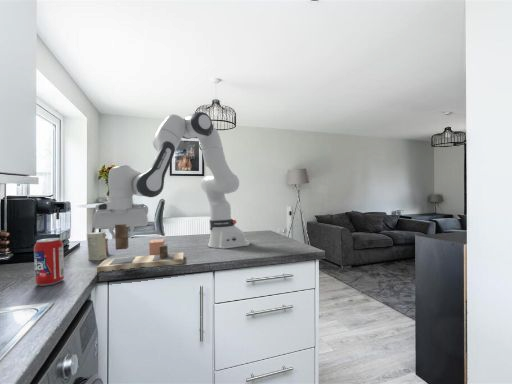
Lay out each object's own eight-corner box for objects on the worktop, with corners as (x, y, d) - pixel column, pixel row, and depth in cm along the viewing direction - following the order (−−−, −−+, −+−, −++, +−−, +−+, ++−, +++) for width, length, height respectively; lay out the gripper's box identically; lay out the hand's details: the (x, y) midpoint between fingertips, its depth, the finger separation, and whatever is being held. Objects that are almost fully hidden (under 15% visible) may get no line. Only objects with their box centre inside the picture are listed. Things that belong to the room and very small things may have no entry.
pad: (135, 257, 115) (135, 256, 115) (131, 262, 106) (131, 262, 106) (115, 259, 113) (115, 258, 113) (109, 264, 104) (109, 264, 104)
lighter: (90, 256, 127) (89, 236, 126) (89, 255, 129) (88, 235, 129) (109, 253, 132) (108, 233, 132) (107, 252, 134) (107, 233, 134)
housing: (164, 253, 130) (164, 238, 130) (163, 256, 122) (163, 241, 122) (151, 254, 128) (151, 239, 128) (149, 258, 121) (149, 242, 121)
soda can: (67, 282, 91) (65, 238, 91) (37, 289, 85) (36, 242, 85) (61, 277, 96) (59, 236, 96) (33, 283, 91) (31, 240, 90)
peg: (128, 246, 112) (127, 223, 112) (126, 248, 108) (125, 224, 108) (118, 247, 111) (117, 223, 111) (115, 249, 107) (115, 224, 107)
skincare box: (106, 258, 123) (106, 232, 122) (99, 261, 118) (98, 233, 118) (95, 257, 124) (94, 231, 124) (87, 260, 120) (86, 233, 120)
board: (183, 256, 122) (182, 241, 122) (183, 263, 110) (182, 246, 110) (105, 263, 113) (105, 247, 113) (96, 272, 102) (96, 254, 102)
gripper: (148, 203, 115) (149, 235, 115) (96, 205, 110) (97, 238, 110) (147, 204, 109) (147, 237, 109) (90, 206, 104) (91, 241, 104)
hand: (121, 238), depth 109 cm, fingers closed on peg, 4 cm apart
